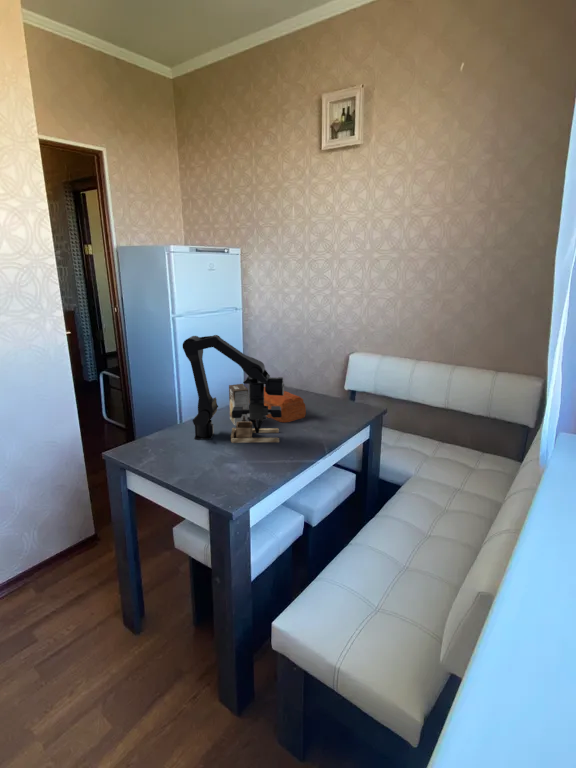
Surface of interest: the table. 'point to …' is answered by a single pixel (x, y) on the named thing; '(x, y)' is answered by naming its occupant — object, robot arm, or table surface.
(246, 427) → the crate
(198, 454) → the table surface
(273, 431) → the beige cubby shelf
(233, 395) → the coffee box
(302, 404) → the bread
